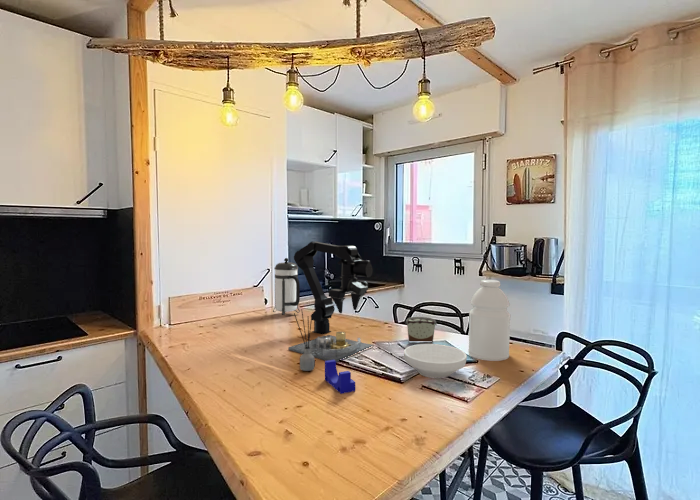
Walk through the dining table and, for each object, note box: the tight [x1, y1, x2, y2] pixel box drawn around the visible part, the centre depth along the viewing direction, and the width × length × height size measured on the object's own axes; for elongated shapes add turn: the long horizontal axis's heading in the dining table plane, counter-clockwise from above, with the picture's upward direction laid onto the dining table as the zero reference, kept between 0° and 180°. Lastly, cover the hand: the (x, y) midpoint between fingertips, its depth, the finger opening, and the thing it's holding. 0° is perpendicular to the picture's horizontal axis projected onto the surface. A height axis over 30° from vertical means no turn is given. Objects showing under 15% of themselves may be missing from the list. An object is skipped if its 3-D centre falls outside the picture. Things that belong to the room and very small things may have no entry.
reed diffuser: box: [293, 308, 316, 372], centre depth 128 cm, size 10×7×20 cm
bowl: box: [403, 343, 468, 379], centre depth 125 cm, size 20×20×7 cm
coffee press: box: [272, 257, 301, 316], centre depth 215 cm, size 17×16×30 cm
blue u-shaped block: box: [324, 360, 356, 395], centre depth 116 cm, size 12×4×6 cm, turn 26°
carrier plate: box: [288, 334, 374, 363], centre depth 152 cm, size 23×23×4 cm
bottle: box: [467, 279, 511, 362], centre depth 142 cm, size 14×14×28 cm
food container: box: [405, 316, 438, 343], centre depth 161 cm, size 12×6×10 cm, turn 84°
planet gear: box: [331, 331, 351, 349], centre depth 148 cm, size 8×8×6 cm
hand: (347, 311), depth 168 cm, fingers open, 9 cm apart
